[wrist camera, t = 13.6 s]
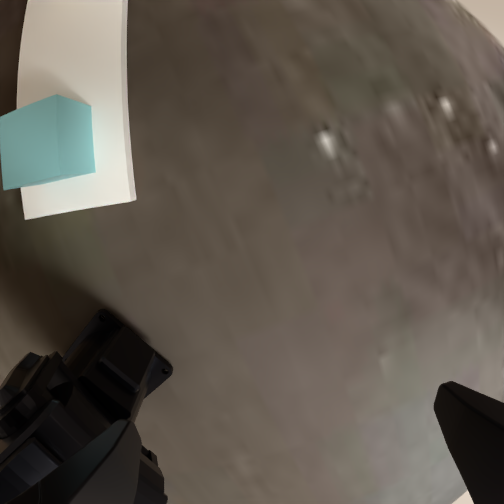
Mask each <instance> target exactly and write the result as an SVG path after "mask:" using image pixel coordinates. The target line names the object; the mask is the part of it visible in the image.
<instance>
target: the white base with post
mask: <svg viewBox="0 0 504 504" xmlns="http://www.w3.org/2000/svg"><path fill="white" fill-rule="evenodd" d="M127 8H128V0H28V2H27V7H26V13H25V19H24V25H23V31H22V39H21V47H20V56H19V67H18V82H17V109H19V108H22V107H24V106H27V105H29V104H32V103H34V102H37V101H39V100H42V99H45V98H47V97H50V96H53V95H56V94H57V95H60V96H63V97H66V98H69V99H72V100H75V101H78V102H81V103H84V104H86V105H89V106H91V112H92V132H93V146H94V159H95V169H96V172H95V173H91V174H86V175H81V176H76V177H72V178H67V179H63V180H59V181H55V182H50V183H46V184H42V185H35V186H28V187H21V194H22V202H23V209H24V216H25V220H28V219H32V218H38V217H43V216H48V215H53V214H59V213H64V212H70V211H75V210H81V209H87V208H93V207H99V206H105V205H112V204H118V203H125V202H131V201H134V200H136V192H135V184H134V174H133V165H132V154H131V143H130V129H129V114H128V93H127Z"/></svg>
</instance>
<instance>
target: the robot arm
mask: <svg viewBox="0 0 504 504" xmlns="http://www.w3.org/2000/svg"><path fill="white" fill-rule="evenodd" d="M101 315H103V316H105V318H106V319H103V318H102V317H101ZM62 359H63V361H62ZM163 369H167V370H168V371H164V370H163ZM172 372H173V367H172V366H171V365H170V364H169V363H168V362H167V361H165V360H164V359H163V358H162V357H160V356H159V355H158V354H157V353H156V352H155V351H154V350H153V349H152V348H151V347H149V346H148V345H147V344H146V343H145V342H144V341H142V340H141V339H140V338H139V337H138V336H137V335H135V334H134V333H133V332H132V331H131V330H130V329H128V328H127V327H125V326H124V325H123V324H122V323H121V322H119V321H118V320H117V319H116V318H115V317H114V316H113V315H112V314H111V313H110V312H109V311H107V310H105V309H101V310H99V311H98V312H97V313H96V315H95V316H94V317H93V318H92V320H91V321H90V322H89V324H88V325H87V326H86V327H85V329H84V330H83V331H82V332H81V334H80V335H79V336H78V338H77V339H76V340H75V342H74V343H73V344H72V346H71V347H70V348H69V350H68V351H67V352H66V354H65V355H64V356H63V358H62V357H61V356H60V354H59V353H58V352H57V351H55V352H53V353H52V354H50V355H49V356H48V355H46V356H44V357H43V356H39V355H36V354H34V353H32V352H30V353H28V354H27V355H26V356H25V357H24V358H23V359H22V360H21V361H20V362H19V363H18V364H17V365H16V366H15V367H14V368H13V369H12V370H11V371H10V372H9V374H8V375H7V377H6V378H5V380H4V381H3V383H2V385H1V386H0V504H167V500H168V497H167V495H166V494H164V477H163V474H162V472H161V470H160V468H159V467H158V462H157V456H156V455H155V454H154V453H153V452H152V451H150V450H147V449H146V448H145V447H144V446H142V442H141V438H140V436H139V433H138V431H137V429H136V426H135V424H134V422H135V420H136V417H137V415H138V412H139V409H140V407H141V404H142V402H143V399H144V398H145V397H147V396H148V395H149V394H150V393H151V392H153V391H154V390H155V389H156V388H157V387H158V386H160V385H161V384H162V383H163V382H164V381H165V380H166V379H168V378H169V377H170V376H171V375H172ZM434 411H435V414H436V417H437V419H438V422H439V425H440V427H441V430H442V433H443V436H444V438H445V441H446V444H447V446H448V449H449V451H450V453H451V455H452V457H453V459H454V461H455V463H456V465H457V468H458V470H459V472H460V474H461V476H462V478H463V480H464V482H465V485H466V487H467V489H468V491H469V493H470V496H471V498H472V500H473V502H474V504H504V403H503V402H500V401H498V400H496V399H493V398H491V397H488V396H486V395H484V394H481V393H479V392H477V391H474V390H472V389H470V388H467V387H465V386H463V385H460V384H458V383H456V382H453V381H449V382H446V383H443V384H441V385H440V386H439V388H438V392H437V395H436V399H435V402H434Z"/></svg>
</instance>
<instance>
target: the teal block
mask: <svg viewBox="0 0 504 504" xmlns="http://www.w3.org/2000/svg"><path fill="white" fill-rule="evenodd" d="M0 152H1V168H2V179H3V189H4V190H9V189H15V188H21V187H28V186H35V185H42V184H46V183H50V182H55V181H59V180H63V179H67V178H72V177H76V176H81V175H86V174H91V173H95V172H96V169H95V159H94V146H93V132H92V112H91V106H89V105H86V104H84V103H81V102H78V101H75V100H72V99H69V98H66V97H63V96H60V95H57V94H56V95H53V96H50V97H47V98H45V99H42V100H39V101H37V102H34V103H32V104H29V105H27V106H24V107H22V108H19V109H17V110H15V111H12V112H10V113H8V114H5V115H3V116H1V117H0Z"/></svg>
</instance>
